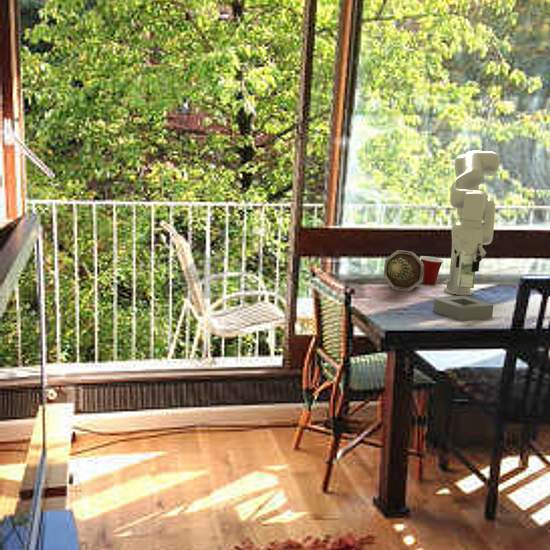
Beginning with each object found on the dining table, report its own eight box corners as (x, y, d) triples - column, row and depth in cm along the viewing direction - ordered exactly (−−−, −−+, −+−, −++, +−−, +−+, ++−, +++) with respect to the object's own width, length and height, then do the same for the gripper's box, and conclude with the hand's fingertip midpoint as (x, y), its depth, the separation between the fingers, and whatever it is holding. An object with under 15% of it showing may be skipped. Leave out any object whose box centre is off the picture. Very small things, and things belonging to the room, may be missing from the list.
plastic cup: (443, 286, 349) (446, 260, 346) (419, 285, 349) (422, 259, 346) (439, 281, 359) (441, 256, 357) (416, 280, 360) (418, 255, 357)
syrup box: (471, 285, 301) (475, 249, 298) (473, 288, 295) (477, 251, 292) (456, 284, 301) (460, 248, 298) (458, 287, 296) (462, 250, 293)
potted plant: (392, 250, 351) (378, 244, 323) (431, 256, 345) (420, 250, 317) (385, 288, 351) (371, 284, 323) (424, 295, 345) (413, 292, 317)
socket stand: (433, 311, 303) (434, 298, 302) (462, 307, 312) (464, 295, 311) (462, 321, 290) (463, 308, 289) (492, 317, 298) (493, 304, 297)
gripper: (448, 221, 299) (444, 265, 302) (481, 228, 284) (476, 274, 288) (462, 221, 303) (458, 264, 306) (495, 227, 288) (490, 273, 291)
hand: (467, 269), depth 297 cm, fingers closed on syrup box, 8 cm apart
